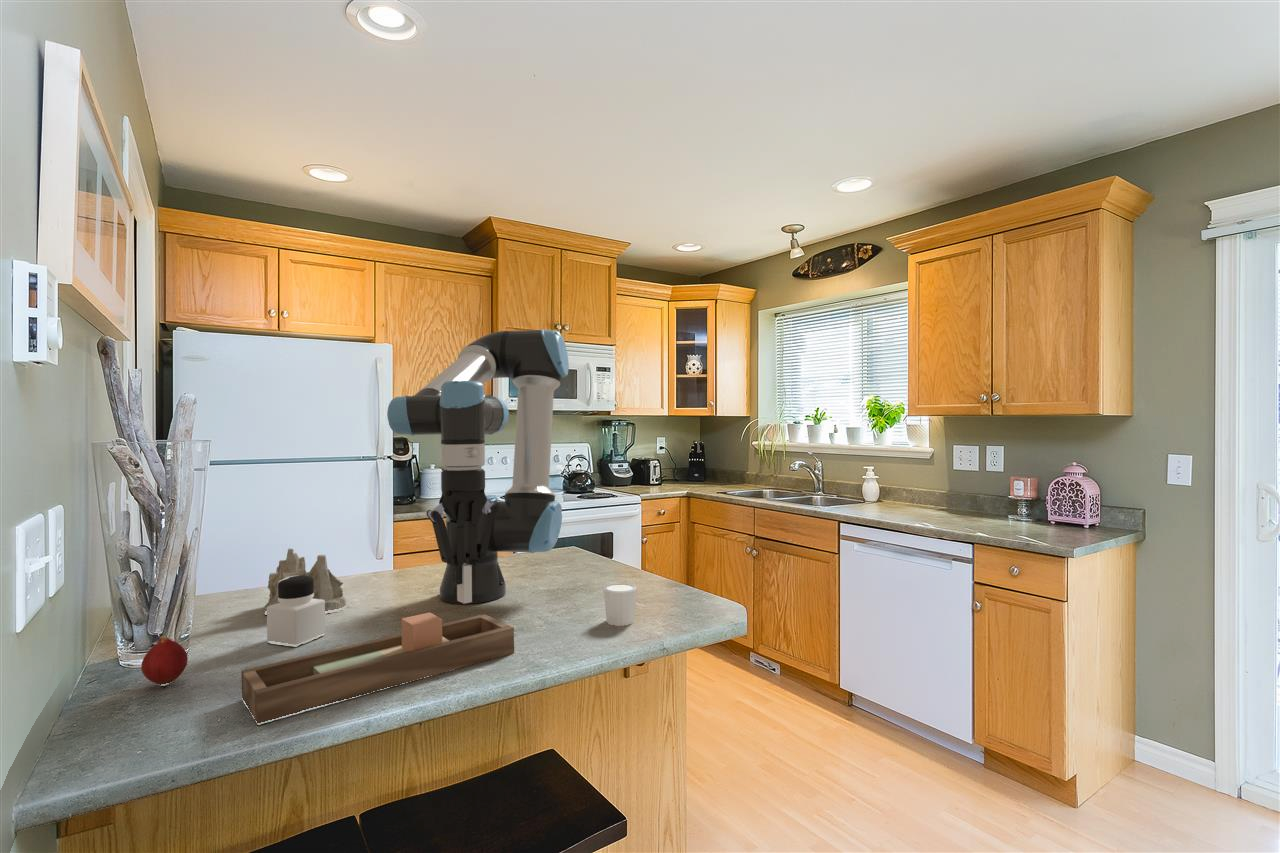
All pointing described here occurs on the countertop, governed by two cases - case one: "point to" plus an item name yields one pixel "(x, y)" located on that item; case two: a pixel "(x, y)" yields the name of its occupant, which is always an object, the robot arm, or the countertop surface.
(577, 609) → the countertop surface
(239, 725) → the countertop surface
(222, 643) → the countertop surface
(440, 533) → the robot arm
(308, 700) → the brown wooden long tray
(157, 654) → the onion
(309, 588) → the medicine bottle
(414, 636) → the block
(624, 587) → the white cup
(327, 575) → the rock mountain model
